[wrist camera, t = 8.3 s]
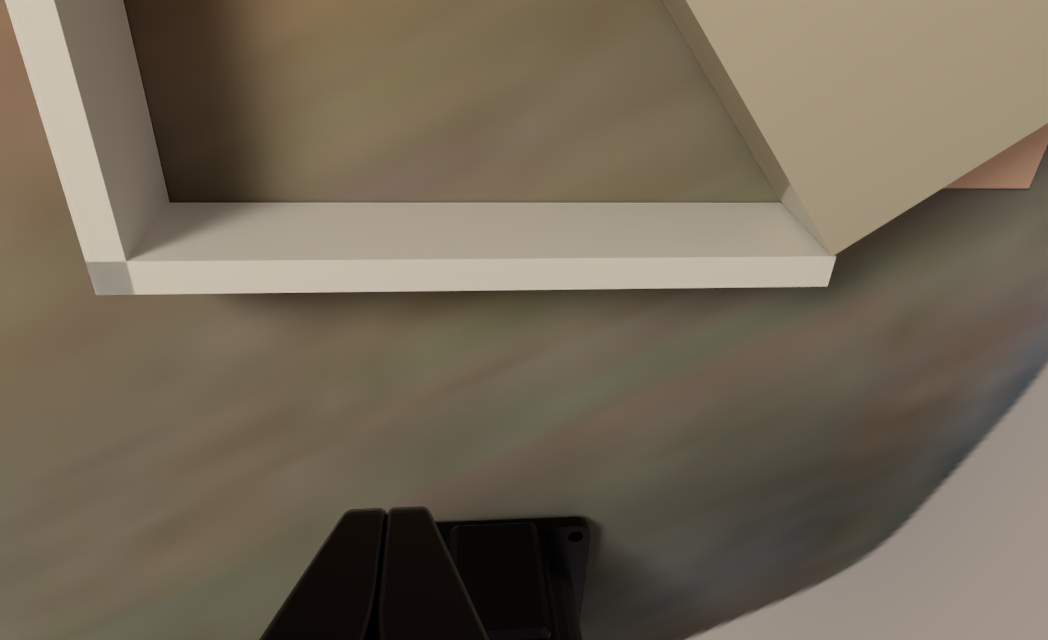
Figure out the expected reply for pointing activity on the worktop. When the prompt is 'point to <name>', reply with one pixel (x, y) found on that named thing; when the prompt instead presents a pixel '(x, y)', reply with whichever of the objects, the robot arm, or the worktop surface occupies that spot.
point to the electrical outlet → (870, 95)
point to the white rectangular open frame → (352, 209)
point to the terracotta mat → (1008, 165)
